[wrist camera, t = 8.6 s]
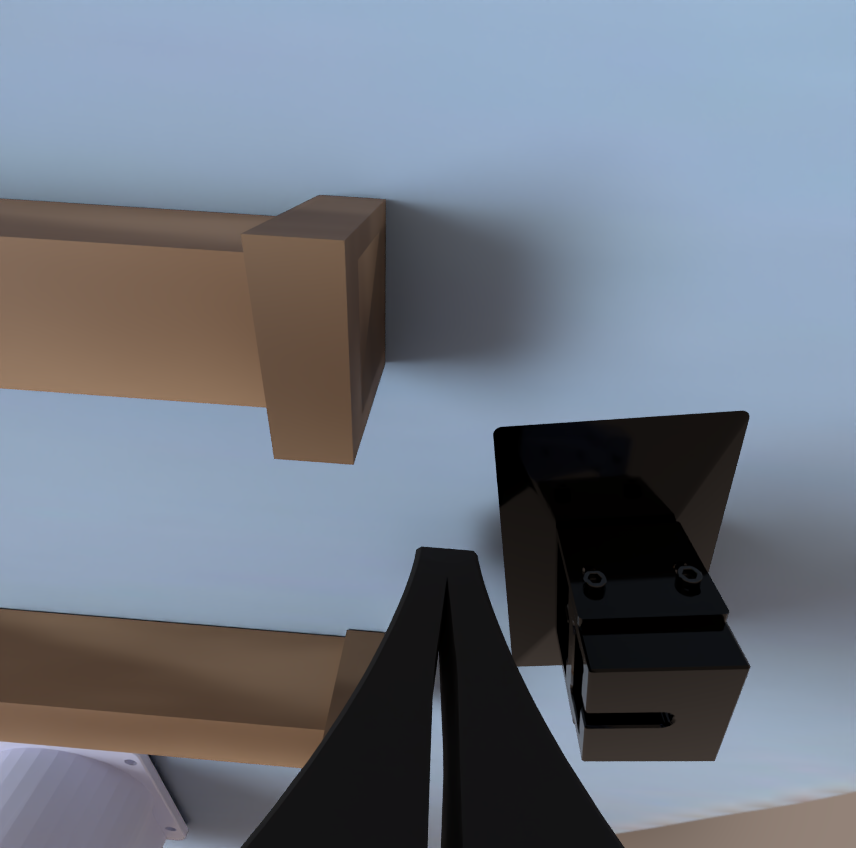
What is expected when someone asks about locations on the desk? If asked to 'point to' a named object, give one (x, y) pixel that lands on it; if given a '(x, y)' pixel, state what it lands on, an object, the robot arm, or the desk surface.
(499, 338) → the desk surface
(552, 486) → the black bracket
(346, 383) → the wooden rail pair
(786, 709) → the desk surface
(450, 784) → the robot arm
